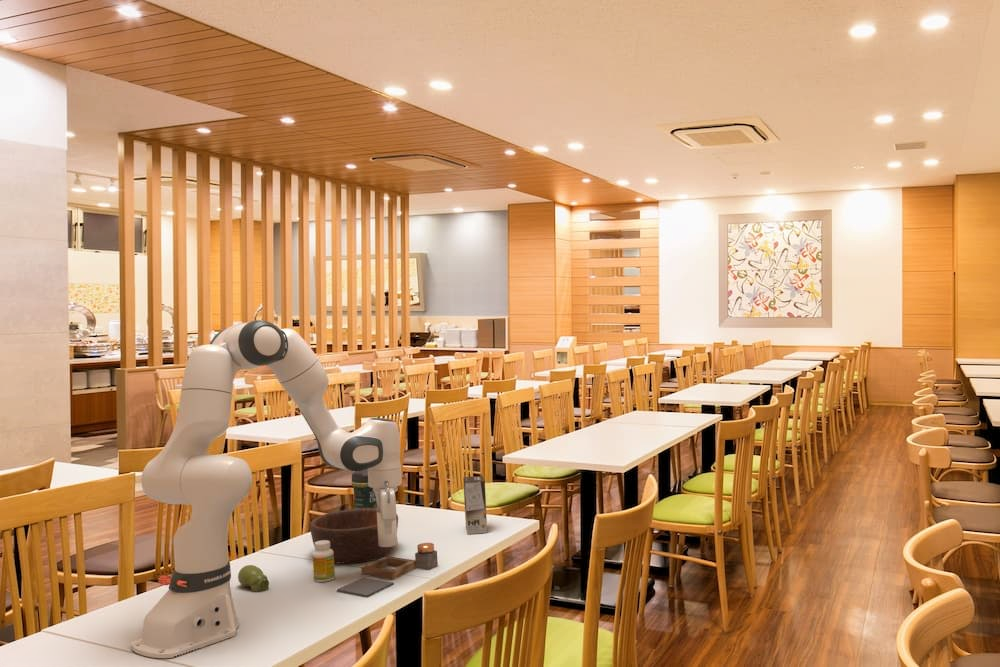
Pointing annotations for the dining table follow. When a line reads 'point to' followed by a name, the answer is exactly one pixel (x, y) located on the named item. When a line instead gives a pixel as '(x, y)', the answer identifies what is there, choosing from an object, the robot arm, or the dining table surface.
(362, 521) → the wooden bowl
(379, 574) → the square wooden frame
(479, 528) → the coffee box
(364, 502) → the coffee jar
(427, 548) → the plunger
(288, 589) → the dining table surface
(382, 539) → the cylinder
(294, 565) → the dining table surface
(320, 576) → the supplement bottle
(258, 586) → the pear
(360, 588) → the pad
